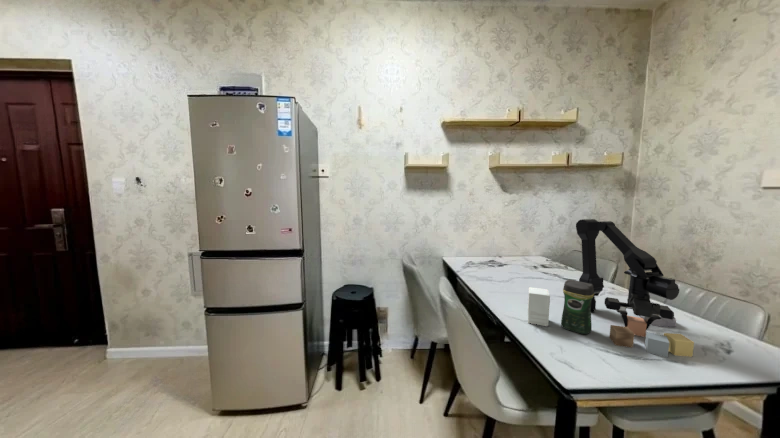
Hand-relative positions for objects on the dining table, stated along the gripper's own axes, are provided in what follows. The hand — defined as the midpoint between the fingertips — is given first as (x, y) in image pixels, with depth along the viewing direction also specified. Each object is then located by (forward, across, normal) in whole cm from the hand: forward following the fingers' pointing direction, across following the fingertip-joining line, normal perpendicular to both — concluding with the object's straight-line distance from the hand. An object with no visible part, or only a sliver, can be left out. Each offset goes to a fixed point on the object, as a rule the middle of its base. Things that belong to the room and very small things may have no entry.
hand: (634, 329), depth 107 cm
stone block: (+2, +9, +16) cm, 19 cm away
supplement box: (+1, -32, -7) cm, 33 cm away
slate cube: (+1, +3, -12) cm, 12 cm away
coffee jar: (+1, -19, -7) cm, 20 cm away
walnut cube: (+1, -6, -11) cm, 13 cm away
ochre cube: (+1, +9, -9) cm, 13 cm away
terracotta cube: (+1, 0, 0) cm, 1 cm away
